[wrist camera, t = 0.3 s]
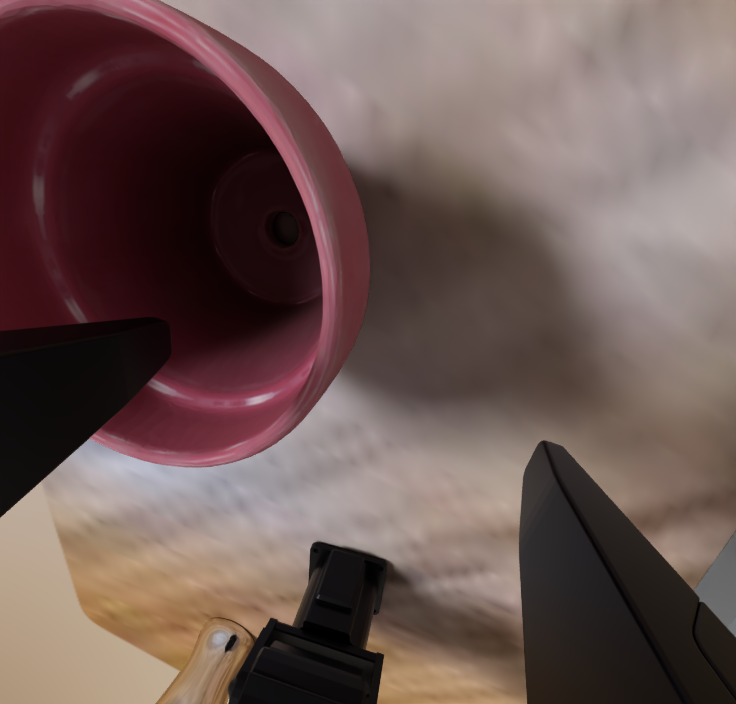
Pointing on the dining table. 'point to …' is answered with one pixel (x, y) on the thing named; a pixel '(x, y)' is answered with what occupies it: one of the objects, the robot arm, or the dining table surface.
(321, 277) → the plant pot
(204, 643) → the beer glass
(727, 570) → the holder box
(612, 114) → the dining table surface
